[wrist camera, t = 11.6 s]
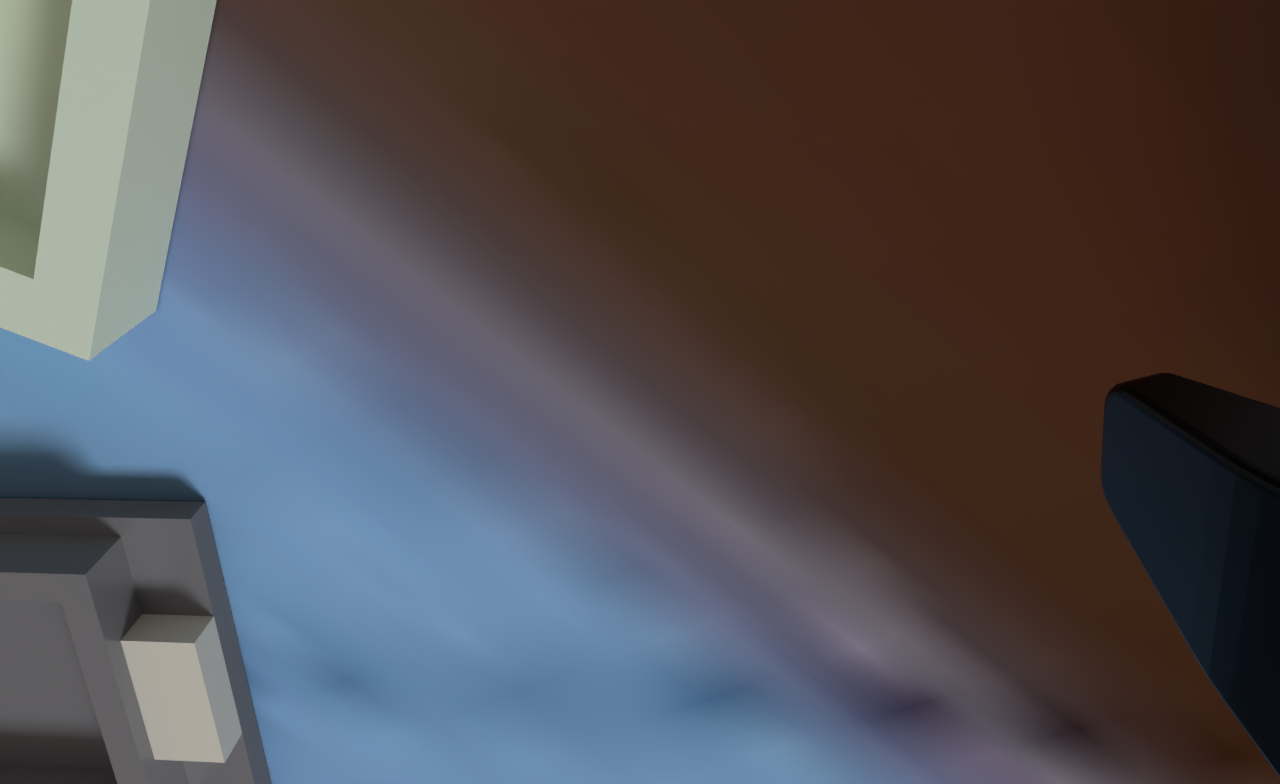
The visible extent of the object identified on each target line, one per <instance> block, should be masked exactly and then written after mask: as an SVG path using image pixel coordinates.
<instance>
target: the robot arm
mask: <svg viewBox="0 0 1280 784" xmlns="http://www.w3.org/2000/svg"><path fill="white" fill-rule="evenodd" d="M1101 482H1102V488H1103V492H1104V495H1105V498H1106V501H1107V503H1108V505H1109V507H1110V509H1111V511H1112V513H1113V515H1114V516H1115V518H1116V520H1117V522H1118V523H1119V525H1120V527H1121V529H1122V530H1123V532H1124V534H1125V536H1126V537H1127V539H1128V541H1129V543H1130V544H1131V546H1132V548H1133V550H1134V551H1135V553H1136V555H1137V557H1138V558H1139V560H1140V562H1141V564H1142V565H1143V567H1144V569H1145V571H1146V572H1147V574H1148V576H1149V578H1150V579H1151V581H1152V583H1153V585H1154V586H1155V588H1156V590H1157V592H1158V593H1159V595H1160V597H1161V599H1162V600H1163V602H1164V604H1165V606H1166V607H1167V609H1168V611H1169V612H1170V614H1171V616H1172V618H1173V619H1174V621H1175V623H1176V625H1177V626H1178V628H1179V630H1180V632H1181V633H1182V635H1183V637H1184V639H1185V640H1186V642H1187V644H1188V646H1189V647H1190V649H1191V651H1192V652H1193V654H1194V656H1195V657H1196V659H1197V661H1198V662H1199V664H1200V666H1201V667H1202V669H1203V670H1204V672H1205V674H1206V675H1207V677H1208V678H1209V680H1210V681H1211V683H1212V684H1213V686H1214V687H1215V689H1216V690H1217V691H1218V693H1219V694H1220V696H1221V697H1222V699H1223V700H1224V702H1225V703H1226V704H1227V706H1228V707H1229V709H1230V710H1231V711H1232V713H1233V714H1234V716H1235V717H1236V718H1237V720H1238V721H1239V722H1240V724H1241V725H1242V726H1243V728H1244V729H1245V731H1246V732H1247V733H1248V735H1249V736H1250V737H1251V739H1252V740H1253V742H1254V743H1255V744H1256V746H1257V747H1258V748H1259V750H1260V751H1261V752H1262V754H1263V755H1264V757H1265V758H1266V759H1267V761H1268V762H1269V763H1270V765H1271V766H1272V768H1273V769H1274V770H1275V772H1276V773H1277V774H1278V776H1279V777H1280V408H1278V407H1275V406H1272V405H1268V404H1265V403H1262V402H1259V401H1256V400H1253V399H1250V398H1247V397H1243V396H1240V395H1237V394H1234V393H1231V392H1228V391H1225V390H1222V389H1219V388H1215V387H1212V386H1209V385H1206V384H1203V383H1200V382H1197V381H1194V380H1190V379H1187V378H1184V377H1181V376H1178V375H1175V374H1171V373H1159V374H1154V375H1150V376H1146V377H1142V378H1138V379H1134V380H1131V381H1127V382H1123V383H1119V384H1117V385H1115V386H1114V387H1113V388H1112V389H1111V390H1110V391H1109V392H1108V395H1107V397H1106V401H1105V406H1104V424H1103V442H1102V460H1101Z"/></svg>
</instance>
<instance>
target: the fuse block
mask: <svg viewBox="0 0 1280 784" xmlns="http://www.w3.org/2000/svg"><path fill="white" fill-rule="evenodd" d="M0 784H271V780H270V776H269V772H268V767H267V763H266V759H265V755H264V750H263V746H262V742H261V737H260V733H259V729H258V725H257V720H256V716H255V712H254V707H253V703H252V699H251V695H250V690H249V686H248V682H247V678H246V673H245V669H244V665H243V660H242V656H241V652H240V648H239V643H238V639H237V635H236V630H235V626H234V622H233V618H232V613H231V609H230V605H229V600H228V596H227V592H226V588H225V583H224V579H223V575H222V571H221V566H220V562H219V558H218V553H217V549H216V545H215V541H214V536H213V532H212V528H211V523H210V519H209V515H208V511H207V506H206V502H187V501H138V500H90V499H42V498H0Z"/></svg>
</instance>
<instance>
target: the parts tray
mask: <svg viewBox="0 0 1280 784" xmlns="http://www.w3.org/2000/svg"><path fill="white" fill-rule="evenodd" d="M216 1H217V0H0V328H3V329H6V330H8V331H11V332H14V333H16V334H19V335H22V336H24V337H27V338H30V339H32V340H35V341H38V342H40V343H43V344H45V345H48V346H51V347H53V348H56V349H59V350H61V351H64V352H67V353H69V354H72V355H75V356H77V357H80V358H83V359H85V360H88V361H90V360H91V359H92V358H94V357H95V356H96V355H98V354H99V353H100V352H102V351H103V350H104V349H106V348H107V347H108V346H110V345H111V344H112V343H114V342H115V341H116V340H118V339H119V338H120V337H122V336H123V335H124V334H126V333H127V332H128V331H130V330H131V329H132V328H134V327H135V326H136V325H138V324H139V323H140V322H142V321H143V320H144V319H146V318H147V317H148V316H150V315H151V314H152V313H153V312H155V311H156V308H157V303H158V298H159V293H160V288H161V283H162V278H163V273H164V267H165V262H166V257H167V252H168V247H169V242H170V237H171V232H172V226H173V221H174V216H175V211H176V206H177V201H178V196H179V191H180V185H181V180H182V175H183V170H184V165H185V160H186V155H187V150H188V144H189V139H190V134H191V129H192V124H193V119H194V114H195V109H196V104H197V98H198V93H199V88H200V83H201V78H202V73H203V68H204V63H205V57H206V52H207V47H208V42H209V37H210V32H211V27H212V22H213V16H214V11H215V6H216Z"/></svg>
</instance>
